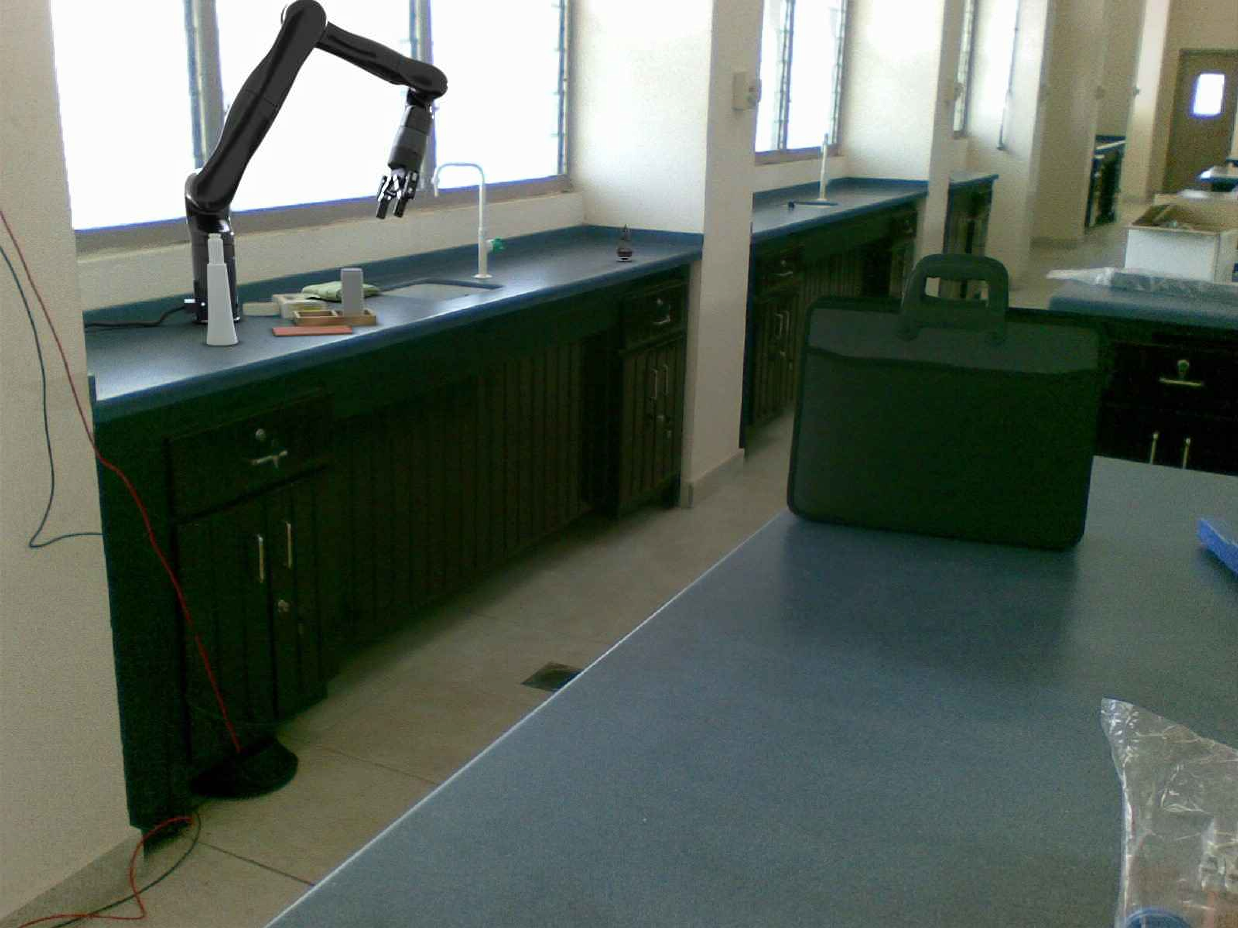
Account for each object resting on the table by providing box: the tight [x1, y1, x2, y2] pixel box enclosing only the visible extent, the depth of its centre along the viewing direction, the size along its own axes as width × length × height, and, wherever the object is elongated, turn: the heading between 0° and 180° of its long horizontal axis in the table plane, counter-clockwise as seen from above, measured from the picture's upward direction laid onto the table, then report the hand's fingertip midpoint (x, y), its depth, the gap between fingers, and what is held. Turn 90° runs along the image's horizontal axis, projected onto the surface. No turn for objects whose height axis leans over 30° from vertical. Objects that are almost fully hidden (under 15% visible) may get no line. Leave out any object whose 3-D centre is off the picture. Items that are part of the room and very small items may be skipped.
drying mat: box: [272, 325, 354, 338], centre depth 260 cm, size 16×9×1 cm, turn 110°
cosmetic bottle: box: [206, 234, 238, 347], centre depth 242 cm, size 6×6×22 cm
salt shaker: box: [615, 223, 635, 260], centre depth 395 cm, size 6×6×12 cm
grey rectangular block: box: [340, 267, 365, 316], centre depth 271 cm, size 5×5×12 cm
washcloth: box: [300, 280, 380, 302], centre depth 308 cm, size 13×18×3 cm
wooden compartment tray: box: [293, 308, 378, 327], centre depth 271 cm, size 17×9×2 cm, turn 110°
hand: (388, 217), depth 276 cm, fingers open, 8 cm apart
